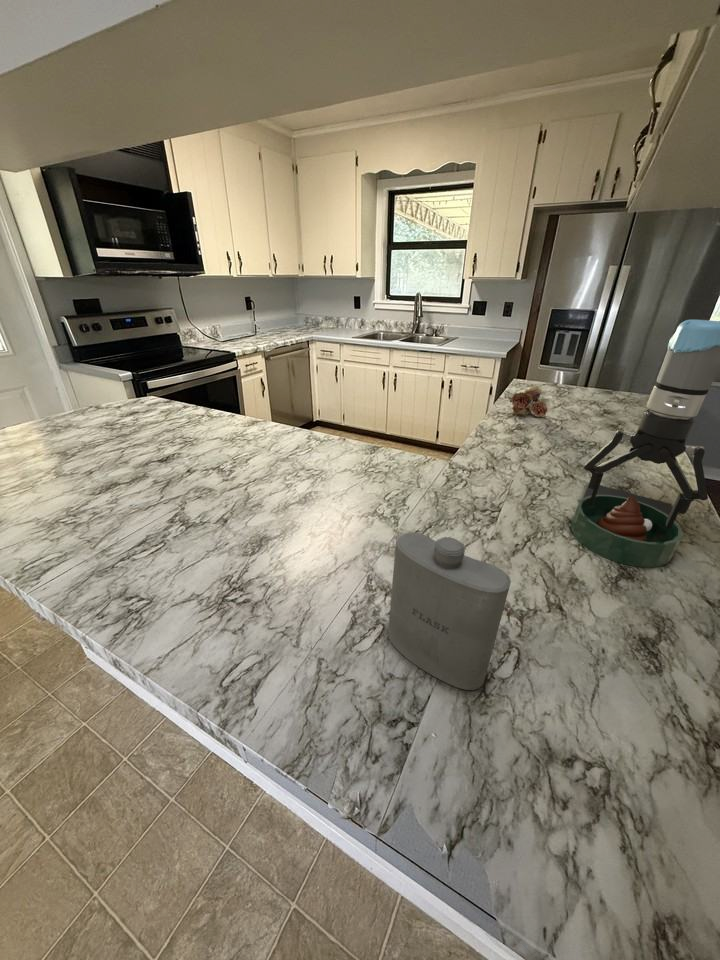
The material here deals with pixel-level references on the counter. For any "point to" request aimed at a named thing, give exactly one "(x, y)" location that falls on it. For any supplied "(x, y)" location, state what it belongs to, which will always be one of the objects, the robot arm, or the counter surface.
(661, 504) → the mat
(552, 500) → the counter surface
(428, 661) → the flask
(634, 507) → the poop emoji
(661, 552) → the green round dish
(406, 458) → the counter surface
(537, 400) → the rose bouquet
